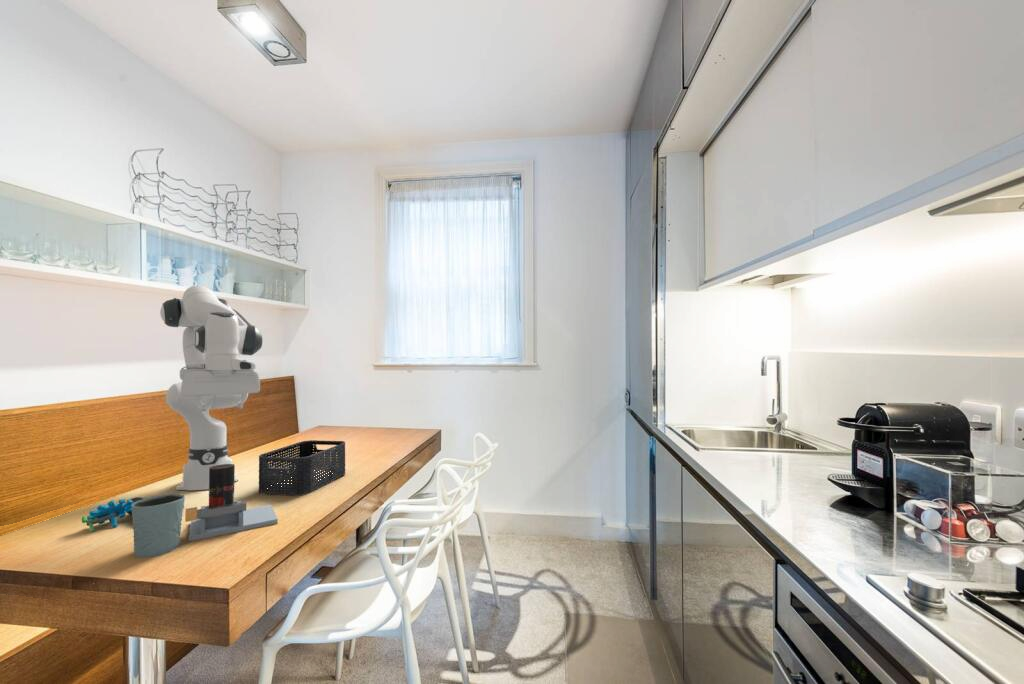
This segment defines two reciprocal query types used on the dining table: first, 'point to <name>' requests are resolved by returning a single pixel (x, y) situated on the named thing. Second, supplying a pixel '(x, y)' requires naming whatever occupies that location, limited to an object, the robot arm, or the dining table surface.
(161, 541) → the embossed plant pot
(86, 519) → the blue green toy
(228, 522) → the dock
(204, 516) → the latch bar
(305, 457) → the storage bin
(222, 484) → the deodorant
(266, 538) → the dining table surface
